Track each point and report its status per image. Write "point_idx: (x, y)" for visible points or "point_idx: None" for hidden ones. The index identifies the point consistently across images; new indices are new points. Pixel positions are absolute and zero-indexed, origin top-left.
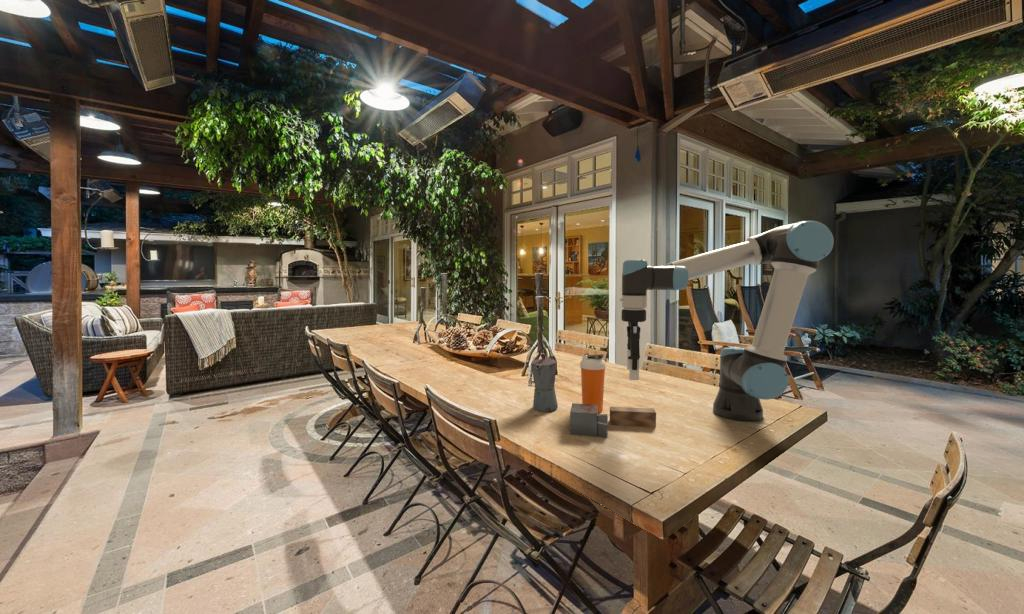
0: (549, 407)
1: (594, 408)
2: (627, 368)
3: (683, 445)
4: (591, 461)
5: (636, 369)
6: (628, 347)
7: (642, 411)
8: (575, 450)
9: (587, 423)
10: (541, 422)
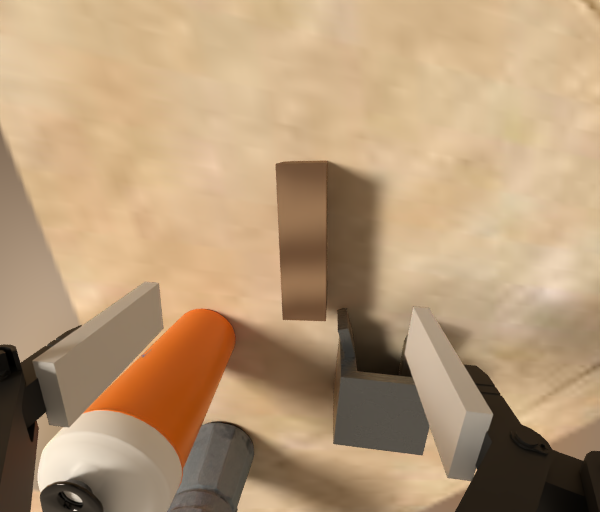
0: (247, 448)
1: (382, 389)
2: (159, 330)
3: (485, 93)
4: (578, 365)
5: (479, 373)
6: (36, 446)
7: (320, 214)
8: (509, 394)
9: None
10: (329, 454)
